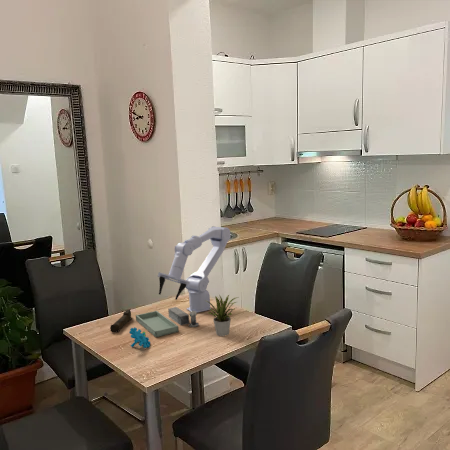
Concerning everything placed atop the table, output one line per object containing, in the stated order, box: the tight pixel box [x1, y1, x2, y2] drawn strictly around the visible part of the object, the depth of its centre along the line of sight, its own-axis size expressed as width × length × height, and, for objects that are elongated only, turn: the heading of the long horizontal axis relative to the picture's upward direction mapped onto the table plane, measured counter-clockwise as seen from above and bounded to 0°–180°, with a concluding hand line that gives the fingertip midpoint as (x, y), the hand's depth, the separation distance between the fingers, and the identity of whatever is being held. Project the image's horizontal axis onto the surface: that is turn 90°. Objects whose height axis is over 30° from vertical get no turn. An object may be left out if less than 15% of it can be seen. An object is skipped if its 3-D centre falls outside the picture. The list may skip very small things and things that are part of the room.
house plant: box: [207, 294, 240, 337], centre depth 185 cm, size 14×14×16 cm
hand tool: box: [109, 309, 132, 334], centre depth 202 cm, size 19×4×5 cm, turn 168°
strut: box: [168, 306, 190, 326], centre depth 205 cm, size 4×14×4 cm, turn 30°
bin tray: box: [135, 310, 179, 338], centre depth 199 cm, size 10×24×2 cm, turn 30°
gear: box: [129, 327, 151, 349], centre depth 178 cm, size 11×6×10 cm
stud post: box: [188, 310, 200, 328], centre depth 197 cm, size 4×4×7 cm
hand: (167, 296), depth 203 cm, fingers open, 7 cm apart
